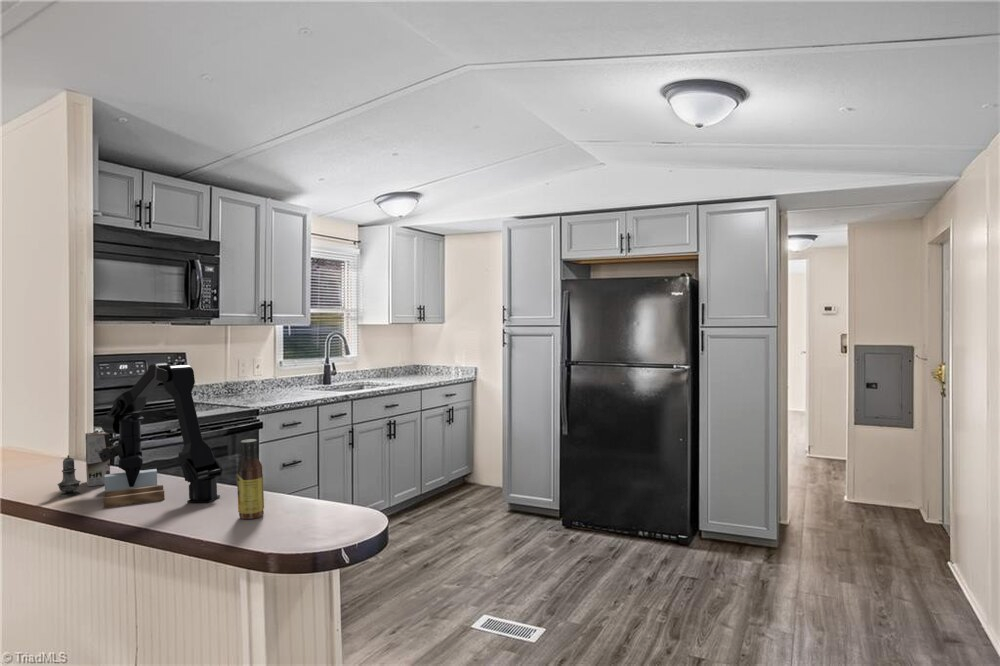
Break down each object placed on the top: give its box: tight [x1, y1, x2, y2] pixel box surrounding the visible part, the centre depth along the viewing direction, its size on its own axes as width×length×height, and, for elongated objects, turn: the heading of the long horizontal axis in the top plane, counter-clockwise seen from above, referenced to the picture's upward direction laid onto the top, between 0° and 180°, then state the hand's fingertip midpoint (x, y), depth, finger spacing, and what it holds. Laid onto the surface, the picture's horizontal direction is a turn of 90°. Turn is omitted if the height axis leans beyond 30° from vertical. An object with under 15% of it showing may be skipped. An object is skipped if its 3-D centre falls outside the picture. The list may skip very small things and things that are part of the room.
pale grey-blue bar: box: [104, 468, 158, 492], centre depth 200 cm, size 14×4×5 cm, turn 120°
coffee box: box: [84, 430, 111, 487], centre depth 210 cm, size 9×6×16 cm
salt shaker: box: [56, 454, 82, 498], centre depth 195 cm, size 6×6×12 cm
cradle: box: [102, 484, 165, 509], centre depth 186 cm, size 15×9×2 cm, turn 120°
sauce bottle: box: [236, 438, 265, 520], centre depth 166 cm, size 6×6×20 cm
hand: (131, 485), depth 200 cm, fingers closed on pale grey-blue bar, 4 cm apart
